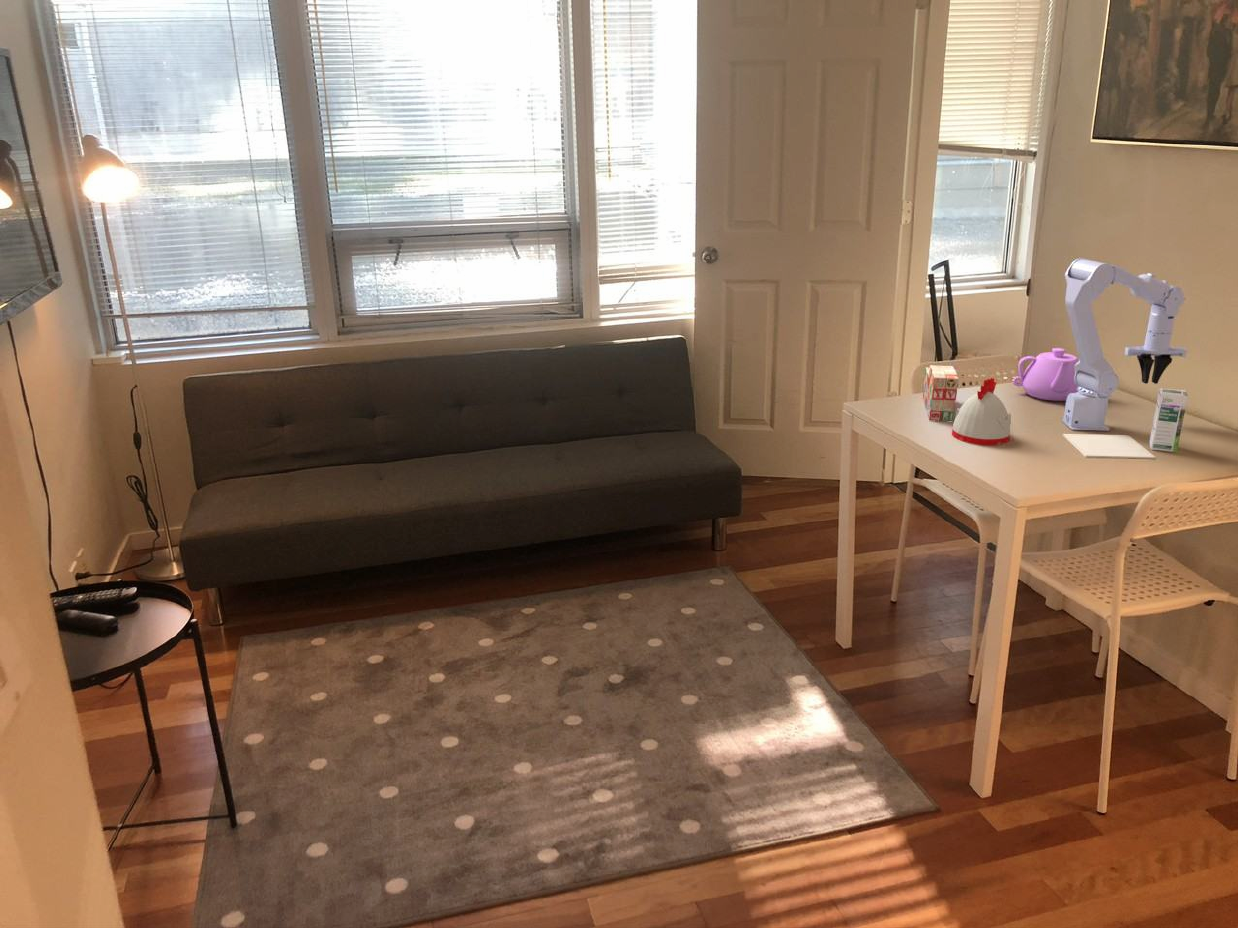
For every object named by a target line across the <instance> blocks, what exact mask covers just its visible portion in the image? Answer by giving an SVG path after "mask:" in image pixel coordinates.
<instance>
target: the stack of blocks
mask: <svg viewBox="0 0 1238 928" xmlns="http://www.w3.org/2000/svg"><path fill="white" fill-rule="evenodd" d="M924 368H925V369H924V376H923V377H924V378H923V379H924V380H923V381H924V383H923V394H922V399H923V403H924V407H925V410H926V412H927V413H928V414H927V413H926V414H927V418H928V421H929V420H935V421H934V422H947V421H953V422H954V419H955V418H954V417H955V406H956V401H957V393H958V387H959V379H960V378H959V377H958V374H957V371H956V369H955V368H954V366H952V365H933V364H931V365H929V367H924ZM938 420H939V421H938Z"/></svg>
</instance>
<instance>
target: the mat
mask: <svg viewBox="0 0 1238 928" xmlns="http://www.w3.org/2000/svg"><path fill="white" fill-rule="evenodd" d="M1062 436H1063V437H1064V438H1065V439H1066V440H1067V441H1068V442H1069V443H1070V444H1072V446H1074V448H1075V449H1077V450H1078V451H1079V452H1080V453H1081V455H1082V456H1084V457H1085V458H1114V459H1117V458H1118V459H1148V460H1149V459H1156V456H1155V455H1154V454H1152V453H1151V452H1150V451H1149V450H1147V448H1145V447H1144V446H1142V444H1140V443H1139V442H1137V441H1136V440H1135V439H1134V438H1132V436H1130V435H1127V434H1093V433H1092V434H1090V433H1089V434H1086V433H1085V434H1084V433H1082V434H1081V433H1080V434H1079V433H1063V434H1062Z"/></svg>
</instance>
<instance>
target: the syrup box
mask: <svg viewBox="0 0 1238 928" xmlns="http://www.w3.org/2000/svg"><path fill="white" fill-rule="evenodd" d="M1188 397H1189V395H1188V393H1187V391H1186V389H1181V390H1180V389H1174V388H1173V389H1171V388H1162V387H1160V388H1159V389H1158V394H1157V398H1156V399H1157V400H1156V405H1155V410H1154V415H1153V421H1152V426H1151V432H1150V437H1149V442H1148V443H1149V448H1150V450H1151V451H1161V452H1168V453H1169V452H1170V453H1177V452H1178V447H1179V442H1180V438H1181V433H1182V428H1183V422H1184V418H1185V417H1184V416H1185V412H1186V408H1187V404H1188V399H1189V398H1188Z"/></svg>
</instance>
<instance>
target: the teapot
mask: <svg viewBox="0 0 1238 928" xmlns="http://www.w3.org/2000/svg"><path fill="white" fill-rule="evenodd" d="M1051 350H1052V352H1051V351H1049V352H1042V353H1039V354H1038V355H1037V356H1036V357H1035V356H1031V355H1028V356H1024V357H1022V358H1020V360H1019V362H1018V366H1017V367H1018V374H1019V376H1015V377H1014V378H1013V379H1012V383H1013V385H1014V386H1016V387H1022V388H1023V390H1024V392H1025V393H1026V394H1027V395H1029V396H1030V397H1032V398H1033V397H1034V398H1035V399H1038V400H1046V401H1057V402H1066V400H1067V397H1068V395H1069V394H1070V393H1076V392H1079V391H1078V390H1077V387H1078V386H1077V385H1076V384H1075V382H1074V375H1075V368H1074V366H1075V365H1076V363H1077V362H1079V361H1080V360H1079V358H1078V357H1077V356H1075V355H1073V354H1069V353H1065V352H1066V349H1064V348H1060V347H1053V348H1052V349H1051ZM1025 361H1031V363H1030V364H1029V365H1028V366H1027V368H1026V369H1025V371H1023V370H1024V369H1023V365H1024V362H1025ZM1017 380H1019V382H1017Z"/></svg>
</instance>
